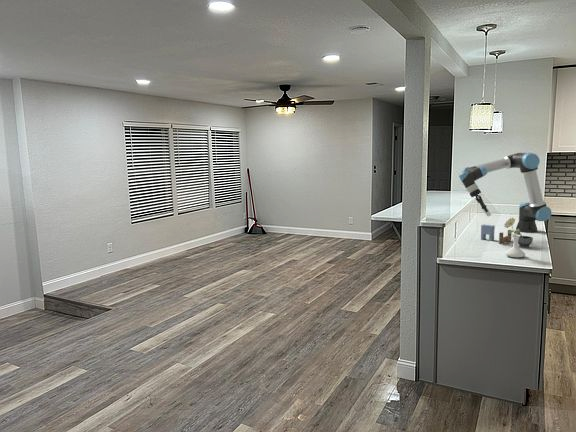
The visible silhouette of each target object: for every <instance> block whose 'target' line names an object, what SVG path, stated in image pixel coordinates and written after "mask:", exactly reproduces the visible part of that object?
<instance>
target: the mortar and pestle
mask: <svg viewBox="0 0 576 432" xmlns="http://www.w3.org/2000/svg"><path fill="white" fill-rule="evenodd" d="M515 231H516V229H514V232H515ZM521 233H522V232H519V233H515V234H517V235H521V236H520V237H519V239H518V247H519V248H520V249H530V245H532V244H533V240H534V237H532V236H527V235H522V234H521Z"/></svg>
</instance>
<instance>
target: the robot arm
mask: <svg viewBox="0 0 576 432" xmlns="http://www.w3.org/2000/svg"><path fill="white" fill-rule="evenodd" d="M540 162H541V161H540V157H539V156H538V155H537V154H536V153H533V152H517V153H513V154H510V155H506V156H504V157H503V158H500V159H496V160H493V161H490V162H488V161H487V162H484V163H481V164H478V165H477V164H476V165H475V166H470V167H468V166H467V167H463V169H462V170H461V173H460V174H459V175H458V177H459V180H460V181H461V183H462V184H463V186H464V187H465V189H466V190H465V191H466V192H467V193H469V196H470V197H471V198H474V197H475V200H476V202H477V203H478V204H479V205H480V206H481V210H483V212H484V213H485V215H486V217H488V218H489V217H490V216H492V213H491V211H490V210H489V208H488V207H487V205H486V204H485V203H484V200H483V198H482V196H481V195H480V194H481V193H482V192H481V190H480V188H479V186H478V184H476V181H478V180H479V179H481V178H483V177H485V176H487V175H488V173H492V172H495V171H499V170H503V169H519V170H520V173H522V174H523V177H524V181H525V182H524V183H525V185H526V189H527V190H526V191H527V193H528V198H529V202H521V203H519V206H518V207H519V211H518V213H519V214H518V222H517V224H516V226H515V230H518V229H519V232H520V233H537V232H538V227H537V223H536V221H538V222H547V220H549V219H550V217H552V209H551V208H550V206H548V205H547V202H546V201H545V200H544V199H543V195H542V190H541V185H540V182H539V177H538V173H537V171H538V169H539V167H538V166H539V164H540Z"/></svg>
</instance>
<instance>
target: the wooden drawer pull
mask: <svg viewBox="0 0 576 432" xmlns="http://www.w3.org/2000/svg"><path fill="white" fill-rule="evenodd" d="M510 230H511V229H507V235H506V236H504V232H499V237H498V244H499V245H504V244H507V243H509V242H512V235H513V232H512V233H511V234H509V233H508V232H509V231H510Z"/></svg>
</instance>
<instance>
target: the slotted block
mask: <svg viewBox="0 0 576 432" xmlns="http://www.w3.org/2000/svg"><path fill="white" fill-rule="evenodd" d="M495 227H496V225H491V224H481V225H480V240H481V241H484V240H486V238H487V235H488V242H493V241H495V229H496V228H495Z"/></svg>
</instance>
